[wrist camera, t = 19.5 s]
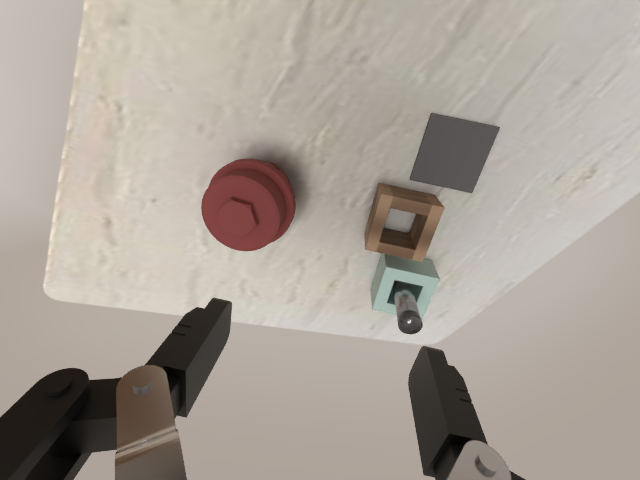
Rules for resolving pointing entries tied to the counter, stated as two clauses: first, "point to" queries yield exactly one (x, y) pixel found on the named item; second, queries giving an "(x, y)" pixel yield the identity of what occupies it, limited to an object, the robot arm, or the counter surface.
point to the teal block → (405, 271)
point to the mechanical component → (248, 204)
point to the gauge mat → (453, 152)
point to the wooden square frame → (401, 242)
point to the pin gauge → (406, 308)
